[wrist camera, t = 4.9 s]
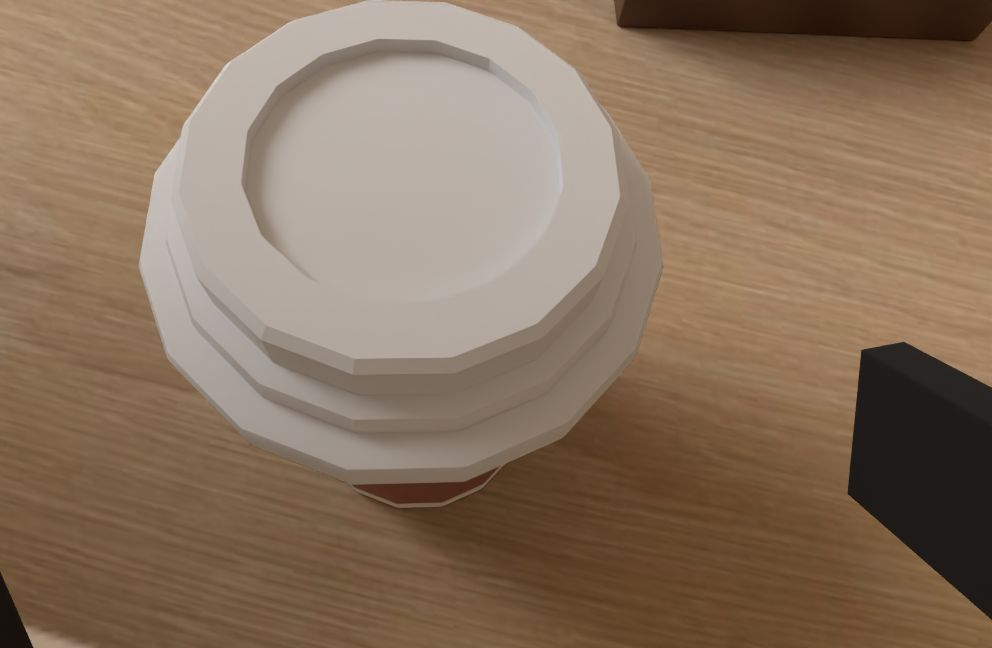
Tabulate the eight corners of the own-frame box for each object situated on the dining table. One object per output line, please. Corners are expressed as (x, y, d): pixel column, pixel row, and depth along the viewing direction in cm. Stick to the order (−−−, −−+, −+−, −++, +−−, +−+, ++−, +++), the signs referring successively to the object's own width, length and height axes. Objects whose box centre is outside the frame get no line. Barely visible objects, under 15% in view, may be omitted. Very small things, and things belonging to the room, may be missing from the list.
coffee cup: (457, 222, 25) (474, -114, 14) (629, 437, 22) (818, 230, 11) (209, 365, 22) (-9, 85, 11) (372, 628, 20) (293, 600, 9)
